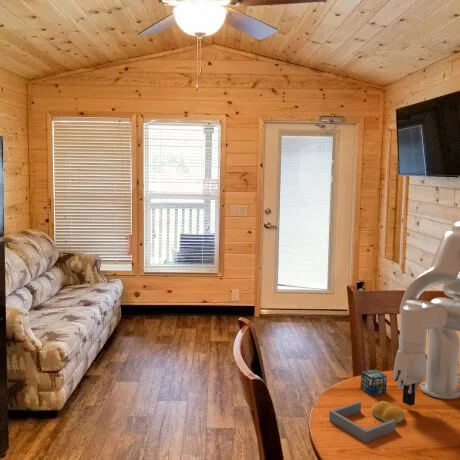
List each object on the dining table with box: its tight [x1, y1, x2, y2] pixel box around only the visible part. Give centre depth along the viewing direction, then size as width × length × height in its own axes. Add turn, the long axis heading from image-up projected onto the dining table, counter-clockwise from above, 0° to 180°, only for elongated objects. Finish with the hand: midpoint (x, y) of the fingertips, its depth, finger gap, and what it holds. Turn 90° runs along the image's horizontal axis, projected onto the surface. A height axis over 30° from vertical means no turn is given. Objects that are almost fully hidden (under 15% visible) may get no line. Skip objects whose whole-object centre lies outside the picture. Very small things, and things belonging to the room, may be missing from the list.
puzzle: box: [360, 369, 388, 397], centre depth 169 cm, size 6×6×6 cm
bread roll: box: [371, 400, 405, 424], centre depth 152 cm, size 8×9×4 cm
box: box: [328, 401, 397, 443], centre depth 146 cm, size 12×14×3 cm
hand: (408, 403), depth 157 cm, fingers closed
